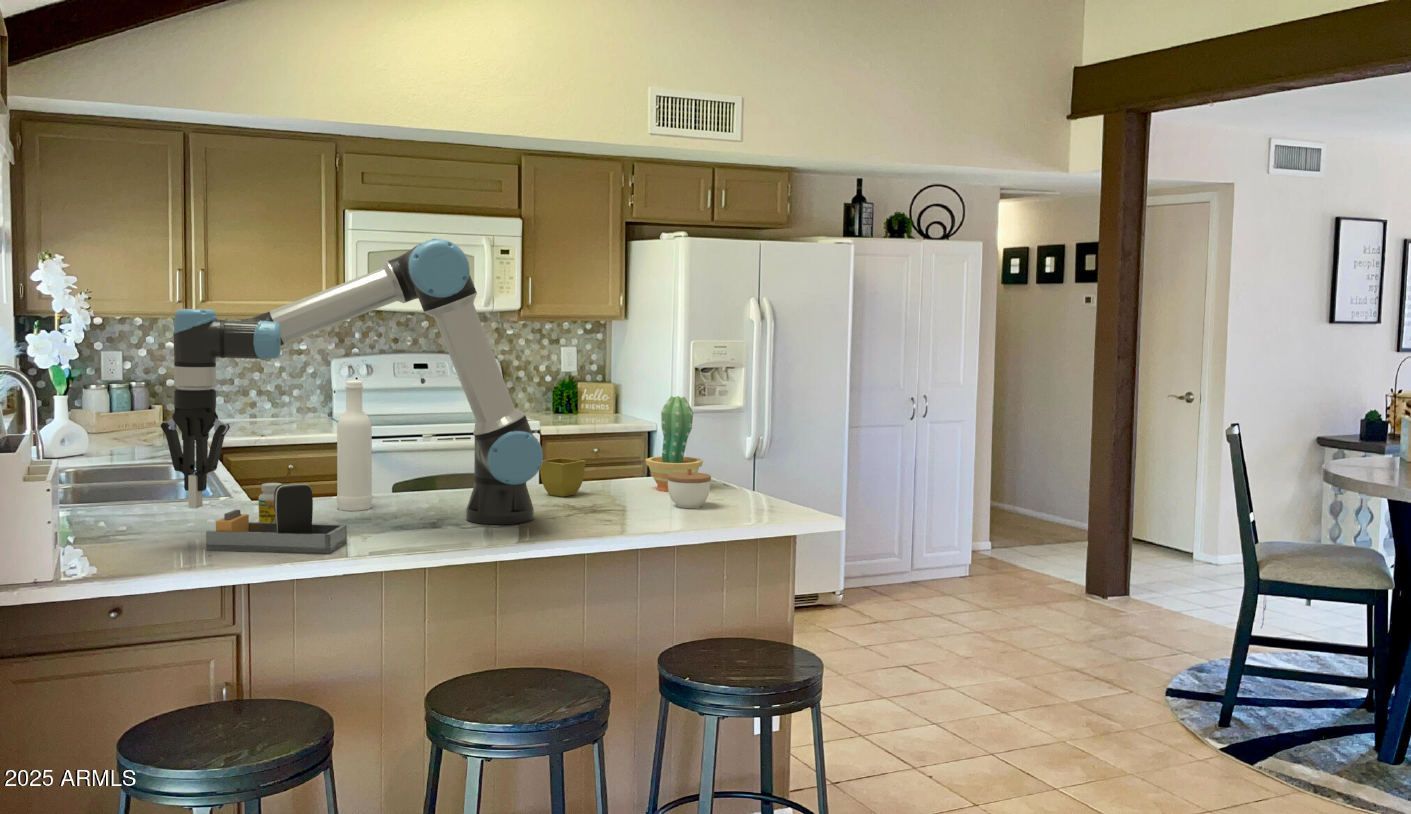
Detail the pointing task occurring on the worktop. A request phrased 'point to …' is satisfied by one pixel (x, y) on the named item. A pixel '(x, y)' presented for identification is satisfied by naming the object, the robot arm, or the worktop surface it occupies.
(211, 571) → the worktop surface
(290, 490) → the battery charger
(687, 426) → the potted cactus
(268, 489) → the supplement bottle
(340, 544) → the tray
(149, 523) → the worktop surface
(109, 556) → the worktop surface
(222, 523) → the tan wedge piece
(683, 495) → the lidded jar
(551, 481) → the flower pot
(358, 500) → the bottle
